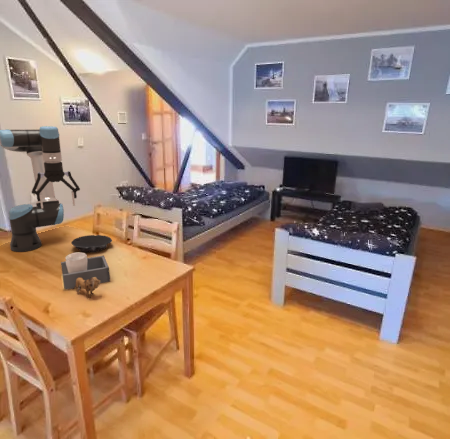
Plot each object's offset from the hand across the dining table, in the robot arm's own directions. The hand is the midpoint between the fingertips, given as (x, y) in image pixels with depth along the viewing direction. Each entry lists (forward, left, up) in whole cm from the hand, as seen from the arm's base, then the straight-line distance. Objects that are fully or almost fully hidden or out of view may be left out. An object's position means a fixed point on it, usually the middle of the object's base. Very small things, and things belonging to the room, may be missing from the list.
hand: (58, 206), depth 160 cm
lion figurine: (+33, +6, -31) cm, 46 cm away
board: (-17, +15, -31) cm, 38 cm away
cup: (+19, +4, -31) cm, 37 cm away
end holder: (+19, +7, -31) cm, 37 cm away
